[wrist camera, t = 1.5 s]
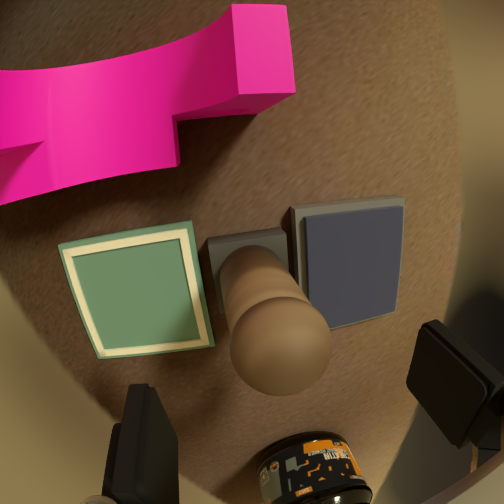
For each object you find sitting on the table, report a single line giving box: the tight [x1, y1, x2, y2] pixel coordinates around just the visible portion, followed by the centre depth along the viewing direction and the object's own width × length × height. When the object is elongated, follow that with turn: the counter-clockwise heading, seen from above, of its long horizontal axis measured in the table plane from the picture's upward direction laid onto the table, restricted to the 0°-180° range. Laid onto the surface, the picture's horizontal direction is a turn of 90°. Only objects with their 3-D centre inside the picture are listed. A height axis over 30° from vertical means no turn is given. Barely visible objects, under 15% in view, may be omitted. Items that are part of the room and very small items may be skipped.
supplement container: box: [256, 431, 373, 504], centre depth 22 cm, size 10×10×12 cm
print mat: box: [58, 220, 215, 359], centre depth 19 cm, size 9×9×1 cm
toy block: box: [0, 4, 295, 205], centre depth 12 cm, size 15×6×8 cm, turn 94°
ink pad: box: [290, 195, 405, 330], centre depth 20 cm, size 9×8×2 cm
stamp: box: [207, 227, 332, 396], centre depth 15 cm, size 4×4×10 cm
